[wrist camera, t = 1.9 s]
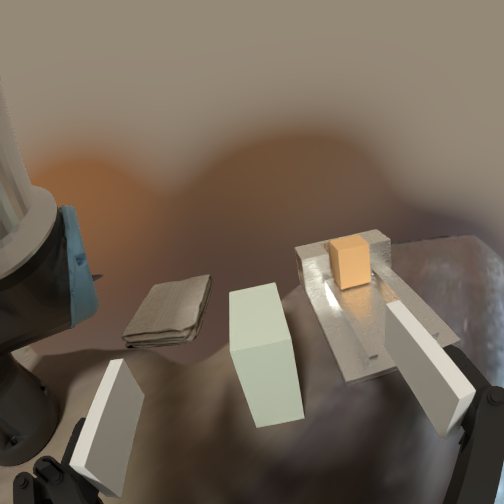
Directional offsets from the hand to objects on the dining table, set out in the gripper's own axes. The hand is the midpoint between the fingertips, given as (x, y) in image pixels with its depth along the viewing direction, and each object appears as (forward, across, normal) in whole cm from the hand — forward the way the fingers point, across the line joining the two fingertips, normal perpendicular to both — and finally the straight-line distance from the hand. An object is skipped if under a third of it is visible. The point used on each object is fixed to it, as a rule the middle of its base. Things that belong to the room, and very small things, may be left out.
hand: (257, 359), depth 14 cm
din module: (+11, 0, -14) cm, 18 cm away
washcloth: (+31, -14, -15) cm, 37 cm away
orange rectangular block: (+27, +14, -13) cm, 33 cm away
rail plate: (+21, +14, -14) cm, 29 cm away
